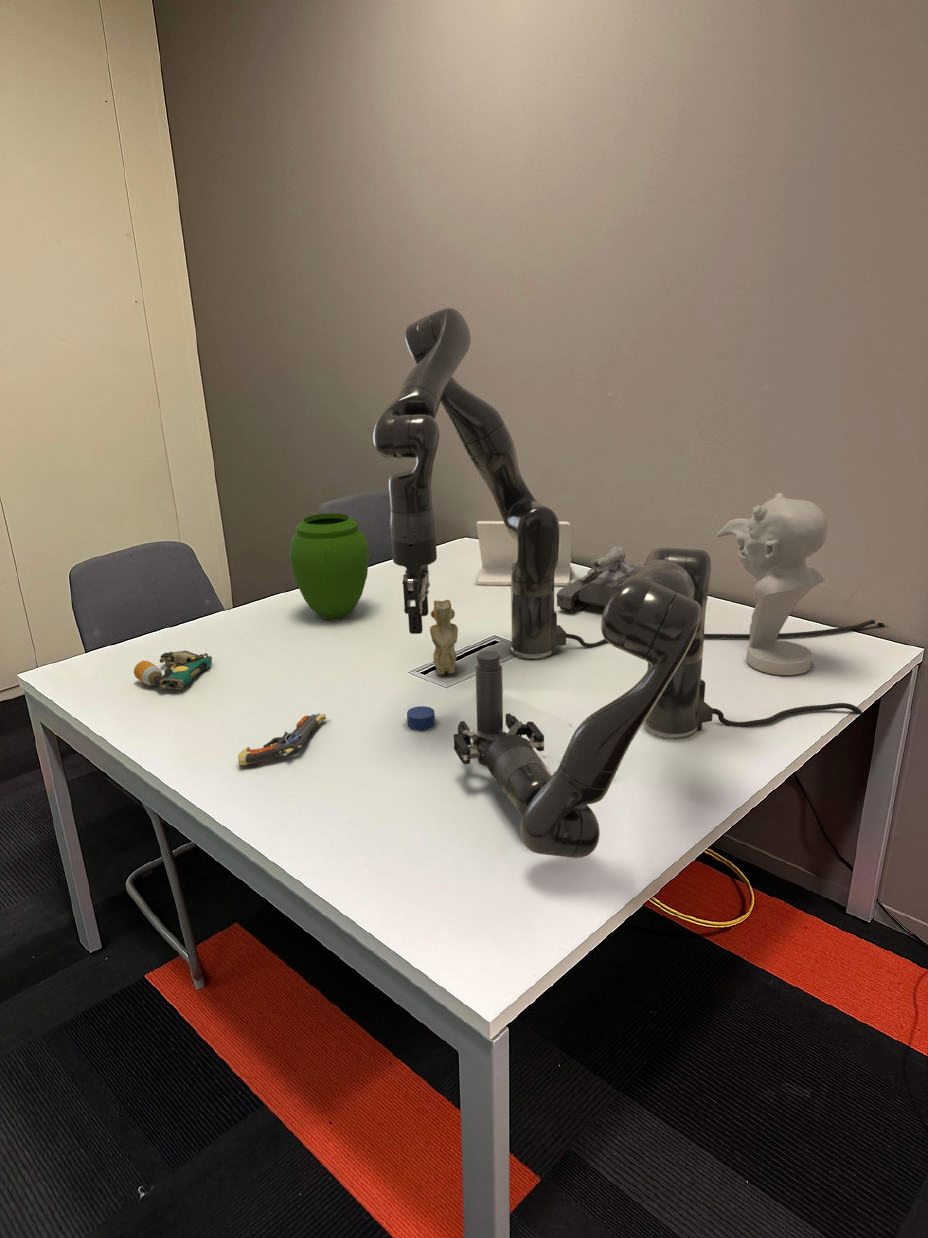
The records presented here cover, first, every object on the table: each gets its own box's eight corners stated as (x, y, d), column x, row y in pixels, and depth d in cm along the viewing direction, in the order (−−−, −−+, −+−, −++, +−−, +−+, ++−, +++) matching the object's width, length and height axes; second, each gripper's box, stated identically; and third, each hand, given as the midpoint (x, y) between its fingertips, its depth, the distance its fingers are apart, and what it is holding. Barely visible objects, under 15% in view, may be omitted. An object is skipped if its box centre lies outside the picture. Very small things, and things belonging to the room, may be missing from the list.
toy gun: (232, 755, 143) (287, 753, 141) (276, 711, 161) (326, 708, 159) (235, 770, 144) (291, 767, 142) (279, 724, 162) (329, 722, 160)
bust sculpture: (745, 630, 196) (760, 478, 183) (832, 666, 176) (855, 499, 163) (692, 644, 189) (703, 487, 176) (776, 683, 169) (796, 510, 156)
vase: (389, 608, 216) (383, 514, 208) (339, 633, 201) (330, 533, 192) (330, 596, 226) (322, 506, 218) (278, 619, 211) (267, 523, 202)
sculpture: (458, 662, 183) (456, 596, 178) (460, 676, 176) (457, 608, 171) (431, 663, 183) (428, 597, 177) (431, 677, 176) (428, 609, 171)
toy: (603, 584, 229) (605, 530, 224) (673, 597, 218) (677, 540, 213) (555, 612, 210) (556, 553, 205) (630, 627, 199) (633, 566, 194)
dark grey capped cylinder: (490, 750, 148) (488, 647, 141) (508, 759, 145) (507, 654, 138) (472, 759, 145) (469, 655, 138) (490, 769, 142) (488, 662, 135)
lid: (418, 715, 161) (417, 703, 160) (440, 721, 158) (440, 710, 157) (402, 726, 157) (401, 714, 156) (424, 733, 154) (423, 721, 153)
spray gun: (177, 659, 191) (231, 671, 185) (120, 684, 176) (176, 698, 171) (176, 641, 190) (230, 653, 184) (118, 665, 175) (174, 678, 169)
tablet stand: (569, 585, 229) (570, 524, 223) (476, 584, 232) (475, 523, 226) (570, 566, 246) (571, 508, 240) (484, 564, 249) (483, 507, 243)
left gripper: (397, 524, 151) (404, 610, 157) (384, 546, 138) (391, 639, 144) (439, 523, 150) (444, 609, 156) (430, 545, 137) (436, 639, 143)
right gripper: (561, 739, 130) (524, 695, 145) (472, 755, 126) (443, 708, 141) (561, 782, 133) (524, 734, 147) (473, 799, 129) (444, 748, 144)
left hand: (419, 624), depth 150 cm, fingers open, 8 cm apart
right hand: (484, 722), depth 144 cm, fingers open, 7 cm apart
